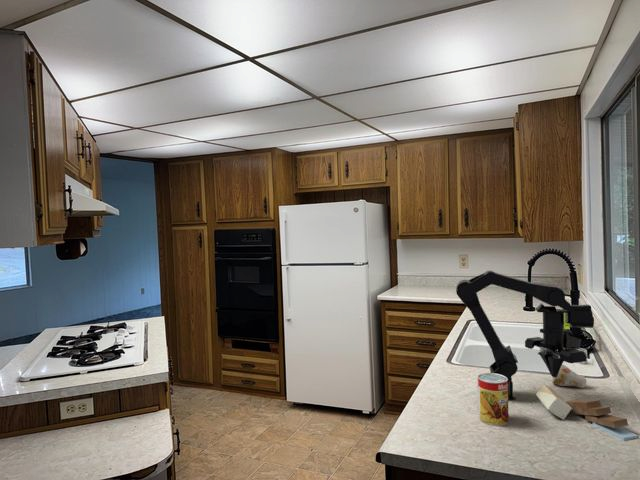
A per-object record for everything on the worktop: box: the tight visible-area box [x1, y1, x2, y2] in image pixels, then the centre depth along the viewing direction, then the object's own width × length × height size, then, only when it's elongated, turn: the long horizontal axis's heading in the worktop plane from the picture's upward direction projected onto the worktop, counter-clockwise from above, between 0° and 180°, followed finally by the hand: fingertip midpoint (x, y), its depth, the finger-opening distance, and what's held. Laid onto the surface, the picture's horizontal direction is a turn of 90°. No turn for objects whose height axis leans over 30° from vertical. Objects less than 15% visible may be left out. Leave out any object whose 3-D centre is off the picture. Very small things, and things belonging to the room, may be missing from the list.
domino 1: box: [565, 399, 603, 409], centre depth 123 cm, size 2×4×9 cm
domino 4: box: [592, 422, 638, 441], centre depth 113 cm, size 2×4×9 cm
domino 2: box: [571, 406, 612, 416], centre depth 120 cm, size 2×4×9 cm
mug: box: [551, 364, 587, 389], centre depth 145 cm, size 8×10×10 cm
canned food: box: [477, 372, 510, 427], centre depth 122 cm, size 8×8×12 cm
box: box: [535, 383, 573, 420], centre depth 126 cm, size 5×4×11 cm
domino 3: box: [584, 414, 629, 428], centre depth 116 cm, size 2×4×9 cm
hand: (554, 376), depth 133 cm, fingers closed
